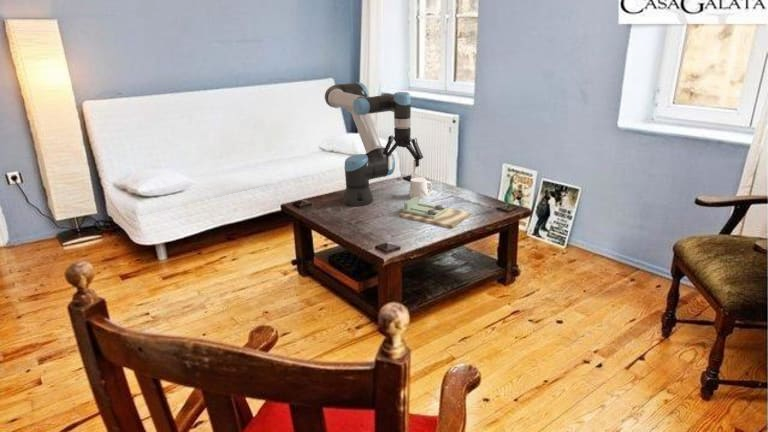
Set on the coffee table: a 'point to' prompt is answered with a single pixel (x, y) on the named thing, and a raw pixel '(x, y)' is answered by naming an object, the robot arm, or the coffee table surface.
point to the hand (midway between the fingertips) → (402, 171)
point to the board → (440, 217)
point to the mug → (419, 188)
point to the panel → (421, 208)
